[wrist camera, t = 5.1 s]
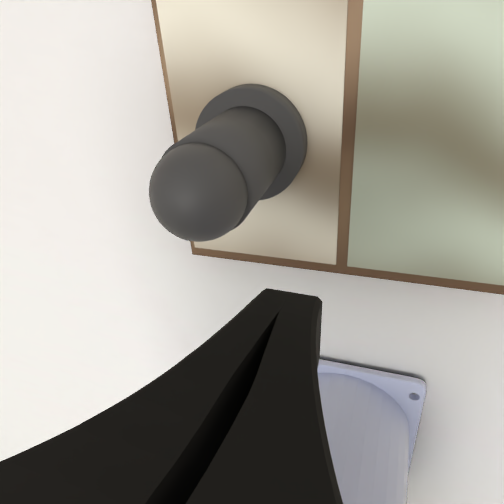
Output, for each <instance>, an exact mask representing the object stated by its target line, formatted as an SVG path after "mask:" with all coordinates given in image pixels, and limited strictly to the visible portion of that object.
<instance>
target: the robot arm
mask: <svg viewBox="0 0 504 504" xmlns="http://www.w3.org/2000/svg"><path fill="white" fill-rule="evenodd" d="M321 316H322V301H321V300H320V299H319V298H318V297H316V296H310V295H304V294H298V293H292V292H286V291H280V290H274V289H267V288H266V289H265V290H263V291H262V292H261V293H260V294H259V295H258V296H257V297H256V298H254V299H253V300H252V301H251V302H250V303H249V304H248V305H247V306H246V307H245V308H244V309H243V310H241V311H240V312H239V313H238V314H237V315H236V316H235V317H234V318H233V319H232V320H230V321H229V322H228V323H227V324H226V325H225V326H223V327H222V328H221V329H220V330H219V331H218V332H216V333H215V334H214V335H213V336H212V337H211V338H209V339H208V340H207V341H206V342H205V343H203V344H202V345H201V346H200V347H198V348H197V349H196V350H194V351H193V352H192V353H191V354H189V355H188V356H187V357H185V358H184V359H183V360H181V361H180V362H179V363H178V364H176V365H175V366H174V367H172V368H171V369H169V370H168V371H167V372H165V373H164V374H162V375H161V376H160V377H158V378H157V379H155V380H154V381H152V382H151V383H149V384H148V385H146V386H145V387H143V388H141V389H140V390H138V391H137V392H135V393H134V394H132V395H130V396H129V397H127V398H126V399H124V400H122V401H120V402H119V403H117V404H115V405H114V406H112V407H110V408H108V409H106V410H105V411H103V412H101V413H99V414H98V415H96V416H94V417H92V418H90V419H89V420H87V421H85V422H83V423H81V424H80V425H78V426H76V427H74V428H72V429H70V430H68V431H66V432H64V433H62V434H60V435H58V436H56V437H54V438H51V439H49V440H47V441H45V442H43V443H41V444H39V445H37V446H34V447H32V448H30V449H28V450H26V451H24V452H21V453H19V454H17V455H15V456H12V457H10V458H8V459H5V460H3V461H1V462H0V504H407V483H408V473H409V468H410V463H411V459H412V454H413V450H414V445H415V440H416V436H417V431H418V427H419V422H420V417H421V413H422V408H423V404H424V399H425V394H426V384H425V382H424V381H423V380H421V379H418V378H414V377H409V376H404V375H399V374H394V373H388V372H383V371H378V370H373V369H368V368H363V367H358V366H352V365H347V364H342V363H337V362H332V361H327V360H321V359H319V356H320V336H321ZM412 393H416V394H412Z"/></svg>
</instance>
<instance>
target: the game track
mask: <svg viewBox="0 0 504 504" xmlns="http://www.w3.org/2000/svg"><path fill="white" fill-rule="evenodd" d="M151 2H152V8H153V14H154V20H155V26H156V33H157V39H158V45H159V51H160V57H161V63H162V69H163V76H164V82H165V88H166V94H167V100H168V106H169V113H170V119H171V125H172V131H173V137H174V143H176V142H178V141H179V140H181V139H183V138H184V137H186V136H187V135H189V134H190V133H192V132H193V131H195V127H196V123H197V120H198V118H199V115H200V113H201V112H202V110H203V109H204V107H205V106H206V105H207V104H208V103H209V101H211V100H212V99H213V98H214V97H216V96H218V95H219V94H221V93H223V92H225V91H226V90H228V89H230V88H232V87H235V86H238V85H242V84H260V85H265V86H268V87H271V88H273V89H275V90H277V91H279V92H280V93H282V94H283V95H284V96H286V97H287V98H288V99H289V100H290V101H291V102H292V103H293V105H294V106H295V107H296V108H297V110H298V111H299V113H300V115H301V117H302V119H303V121H304V124H305V127H306V132H307V141H308V145H307V153H306V157H305V160H304V163H303V165H302V167H301V169H300V171H299V172H298V174H297V175H296V177H295V178H294V180H293V181H292V183H291V184H290V185H289V186H288V187H287V188H286V189H285V190H284V191H282V192H281V193H279V194H278V195H276V196H274V197H271V198H269V199H265V200H259V201H258V202H257V204H256V205H255V206H254V208H253V209H252V210H251V212H250V213H249V214H248V216H247V217H246V218H245V220H244V221H243V222H242V223H241V224H240V225H239V226H238V227H236V228H235V229H233V230H231V231H229V232H228V233H227V234H225V235H223V236H222V237H219V238H217V239H214V240H210V241H203V242H195V241H190V242H191V248H192V254H194V255H202V256H210V257H218V258H225V259H233V260H241V261H248V262H256V263H264V264H272V265H279V266H287V267H295V268H303V269H310V270H318V271H326V272H333V273H341V274H349V275H357V276H364V277H372V278H380V279H388V280H395V281H403V282H411V283H418V284H426V285H434V286H442V287H449V288H457V289H465V290H473V291H480V292H488V293H496V294H503V295H504V0H151Z"/></svg>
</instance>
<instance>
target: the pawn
mask: <svg viewBox="0 0 504 504" xmlns="http://www.w3.org/2000/svg"><path fill="white" fill-rule="evenodd" d="M307 145H308V141H307V132H306V127H305V124H304V121H303V119H302V117H301V115H300V113H299V111H298V110H297V108H296V107H295V106H294V105H293V103H292V102H291V101H290V100H289V99H288V98H287V97H286V96H284V95H283V94H282V93H280V92H279V91H277V90H275V89H273V88H271V87H268V86H265V85H260V84H242V85H238V86H235V87H232V88H230V89H228V90H226V91H225V92H223V93H221V94H219V95H218V96H216V97H214V98H213V99H212V100H211V101H209V103H208V104H207V105H206V106H205V107H204V109H203V110H202V112H201V113H200V115H199V118H198V120H197V123H196V127H195V131H193V132H192V133H190V134H189V135H187V136H186V137H184V138H183V139H181V140H179V141H178V142H176V143H175V144H173V145H172V146H171V147H170V148H169V149H168V150H167V151H166V152H165V153H164V155H163V156H162V159H161V160H160V161H159V162H158V164H157V165H156V167H155V169H154V171H153V173H152V176H151V180H150V186H149V197H150V203H151V207H152V209H153V212H154V214H155V216H156V217H157V219H158V220H159V222H160V223H161V224H162V225H163V226H164V227H165V228H166V229H167V230H168V231H169V232H171V233H172V234H174V235H175V236H177V237H179V238H182V239H185V240H189V241H195V242H203V241H210V240H214V239H217V238H219V237H222V236H223V235H225V234H227V233H228V232H229V231H231V230H233V229H235V228H236V227H238V226H239V225H240V224H241V223H242V222H243V221H244V220H245V218H246V217H247V216H248V214H249V213H250V212H251V210H252V209H253V208H254V206H255V205H256V204H257V202H258V201H259V200H265V199H269V198H271V197H274V196H276V195H278V194H279V193H281V192H282V191H284V190H285V189H286V188H287V187H288V186H289V185H290V184H291V183H292V181H293V180H294V178H295V177H296V175H297V174H298V172H299V171H300V169H301V167H302V165H303V163H304V160H305V157H306V153H307Z"/></svg>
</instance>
